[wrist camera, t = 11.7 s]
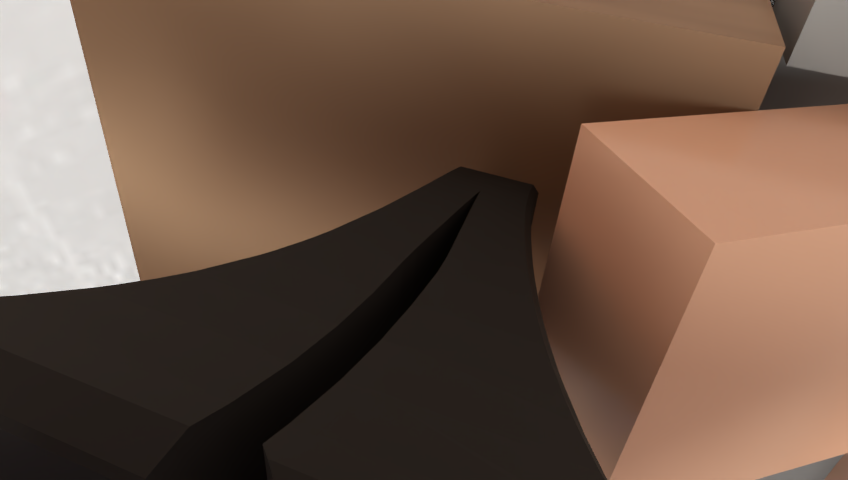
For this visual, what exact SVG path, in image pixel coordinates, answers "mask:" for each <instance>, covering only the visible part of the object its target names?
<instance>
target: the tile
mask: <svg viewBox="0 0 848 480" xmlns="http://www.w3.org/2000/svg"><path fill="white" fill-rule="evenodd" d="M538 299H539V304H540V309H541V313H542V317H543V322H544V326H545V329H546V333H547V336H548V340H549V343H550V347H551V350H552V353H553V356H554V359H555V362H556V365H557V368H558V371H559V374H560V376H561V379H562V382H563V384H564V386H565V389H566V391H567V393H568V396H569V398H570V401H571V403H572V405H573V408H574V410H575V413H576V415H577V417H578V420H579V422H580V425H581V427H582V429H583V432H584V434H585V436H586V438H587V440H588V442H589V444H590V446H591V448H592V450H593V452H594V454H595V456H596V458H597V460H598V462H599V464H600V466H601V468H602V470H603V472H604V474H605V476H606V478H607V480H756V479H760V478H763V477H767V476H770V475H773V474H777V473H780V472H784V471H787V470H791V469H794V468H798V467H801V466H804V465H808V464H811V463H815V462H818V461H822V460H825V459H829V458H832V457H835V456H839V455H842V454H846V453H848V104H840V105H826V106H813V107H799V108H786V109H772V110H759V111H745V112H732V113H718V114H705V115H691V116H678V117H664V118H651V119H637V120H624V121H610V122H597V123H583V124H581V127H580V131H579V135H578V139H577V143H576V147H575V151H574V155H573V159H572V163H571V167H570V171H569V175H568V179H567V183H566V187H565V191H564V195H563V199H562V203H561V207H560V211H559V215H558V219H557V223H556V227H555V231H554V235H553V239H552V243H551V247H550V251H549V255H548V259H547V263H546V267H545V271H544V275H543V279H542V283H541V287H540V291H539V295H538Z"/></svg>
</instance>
